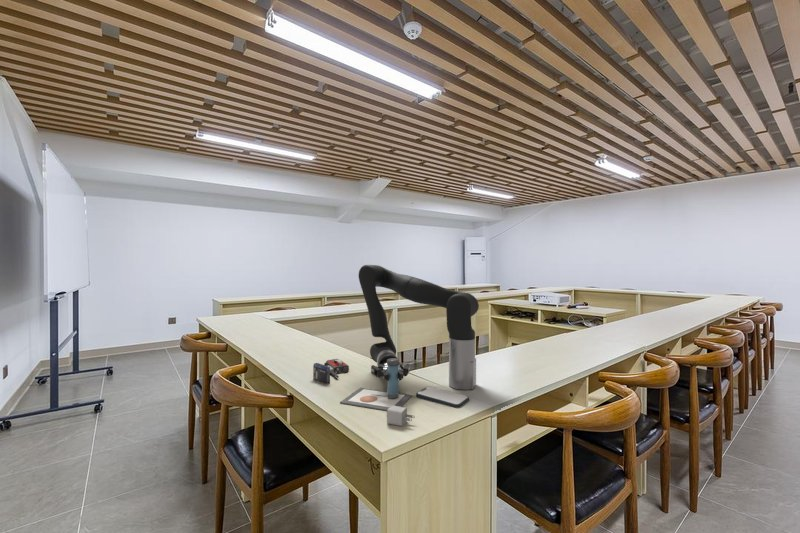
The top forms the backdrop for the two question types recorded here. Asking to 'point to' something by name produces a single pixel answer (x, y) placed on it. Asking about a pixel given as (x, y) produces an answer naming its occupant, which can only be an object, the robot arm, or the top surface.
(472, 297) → the robot arm
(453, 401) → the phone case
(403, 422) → the usb wall charger
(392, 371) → the bottle
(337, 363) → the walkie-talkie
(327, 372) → the mini dv tape
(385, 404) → the grey picture frame
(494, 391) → the top surface
